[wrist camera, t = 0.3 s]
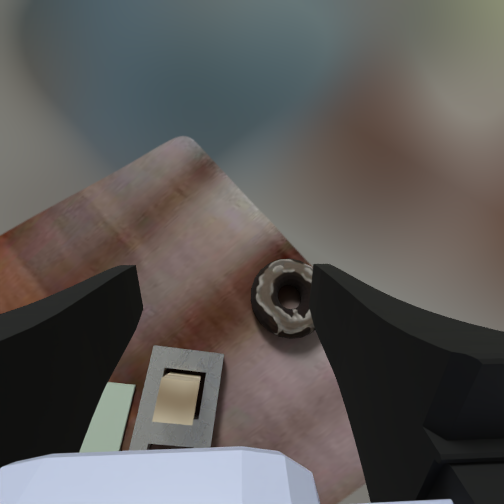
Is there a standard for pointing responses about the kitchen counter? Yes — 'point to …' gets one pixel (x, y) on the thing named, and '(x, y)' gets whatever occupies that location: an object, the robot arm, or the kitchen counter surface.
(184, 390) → the peg
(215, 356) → the rail
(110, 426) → the mat
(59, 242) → the kitchen counter surface
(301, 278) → the donut
